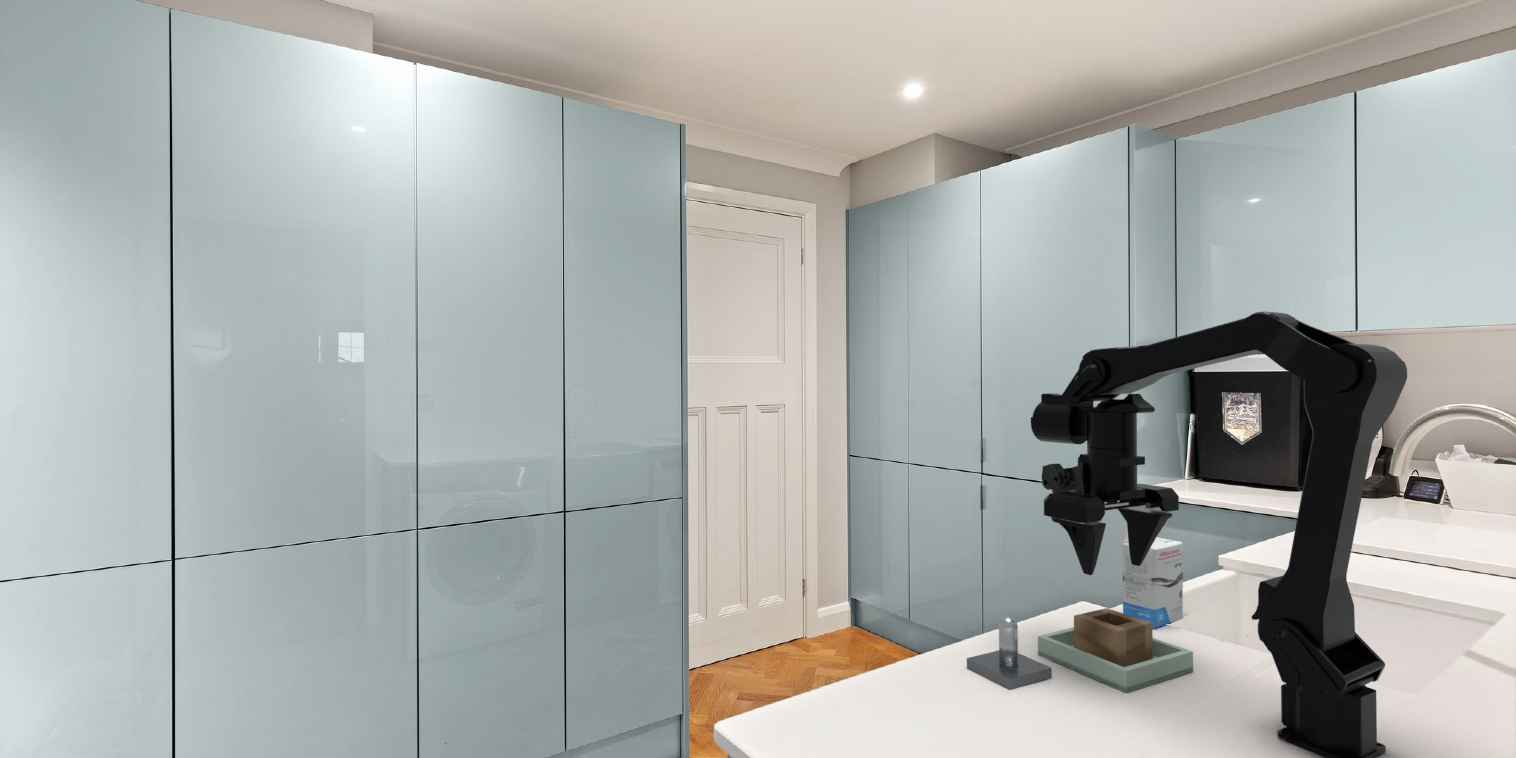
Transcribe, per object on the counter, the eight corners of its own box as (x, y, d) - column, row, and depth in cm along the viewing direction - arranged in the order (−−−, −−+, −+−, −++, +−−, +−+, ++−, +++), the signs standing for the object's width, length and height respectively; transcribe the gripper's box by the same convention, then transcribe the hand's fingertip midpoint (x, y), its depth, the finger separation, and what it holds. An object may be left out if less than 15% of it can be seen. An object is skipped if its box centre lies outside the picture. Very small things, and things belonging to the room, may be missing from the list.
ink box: (1155, 630, 100) (1154, 528, 100) (1121, 620, 105) (1120, 522, 105) (1185, 618, 105) (1184, 521, 105) (1151, 609, 109) (1150, 516, 109)
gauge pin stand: (1051, 677, 85) (1051, 620, 85) (1009, 689, 81) (1009, 630, 81) (1007, 657, 91) (1007, 604, 91) (966, 667, 88) (966, 612, 88)
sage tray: (1193, 671, 86) (1192, 651, 86) (1126, 692, 80) (1125, 671, 80) (1102, 638, 97) (1102, 620, 97) (1037, 654, 92) (1037, 635, 92)
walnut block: (1152, 662, 87) (1152, 622, 87) (1119, 672, 84) (1118, 631, 85) (1107, 645, 93) (1106, 608, 93) (1074, 654, 90) (1073, 615, 90)
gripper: (1104, 439, 100) (1105, 548, 100) (1009, 445, 92) (1010, 563, 92) (1181, 446, 90) (1181, 566, 90) (1082, 453, 82) (1083, 586, 82)
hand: (1112, 569), depth 89 cm, fingers open, 9 cm apart
